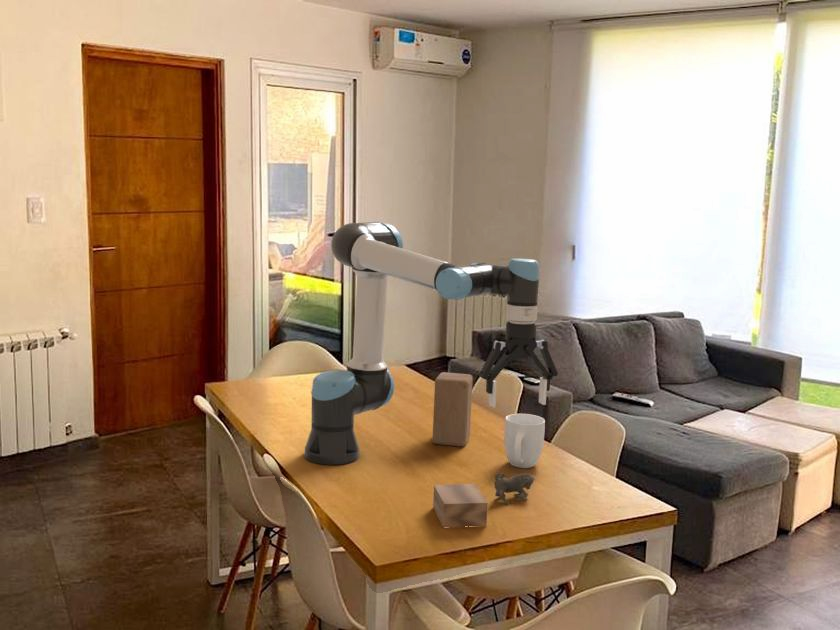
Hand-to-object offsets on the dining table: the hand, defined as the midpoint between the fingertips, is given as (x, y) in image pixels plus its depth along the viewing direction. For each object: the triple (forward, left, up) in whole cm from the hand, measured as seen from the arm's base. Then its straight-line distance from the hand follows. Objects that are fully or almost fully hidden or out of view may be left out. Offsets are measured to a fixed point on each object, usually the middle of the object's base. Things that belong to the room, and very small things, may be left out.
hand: (517, 404), depth 215 cm
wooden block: (-9, +39, -22) cm, 46 cm away
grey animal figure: (-1, -7, -22) cm, 23 cm away
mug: (+7, +17, -22) cm, 29 cm away
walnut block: (-17, -18, -22) cm, 33 cm away
